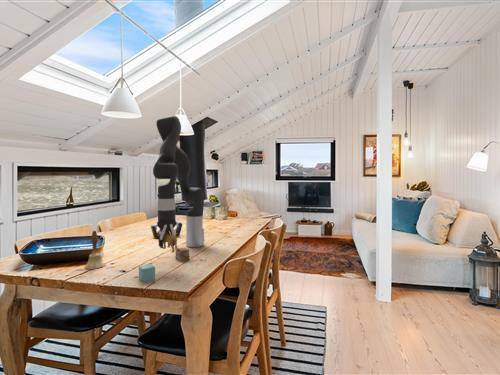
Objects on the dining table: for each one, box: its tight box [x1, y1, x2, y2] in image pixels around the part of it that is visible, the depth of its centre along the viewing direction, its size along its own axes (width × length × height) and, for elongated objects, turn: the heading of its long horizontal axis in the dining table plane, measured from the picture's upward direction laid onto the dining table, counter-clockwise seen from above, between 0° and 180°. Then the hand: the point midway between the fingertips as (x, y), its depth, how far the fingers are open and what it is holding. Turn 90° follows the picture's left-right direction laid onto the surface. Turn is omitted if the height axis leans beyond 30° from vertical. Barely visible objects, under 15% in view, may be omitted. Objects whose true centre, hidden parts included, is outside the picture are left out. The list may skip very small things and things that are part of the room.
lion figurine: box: [157, 229, 180, 253], centre depth 136 cm, size 15×5×9 cm, turn 51°
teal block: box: [138, 263, 156, 282], centre depth 124 cm, size 5×5×5 cm
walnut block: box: [175, 247, 190, 262], centre depth 151 cm, size 5×5×5 cm
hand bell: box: [84, 230, 106, 270], centre depth 139 cm, size 8×8×16 cm
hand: (167, 246), depth 137 cm, fingers closed on lion figurine, 4 cm apart
